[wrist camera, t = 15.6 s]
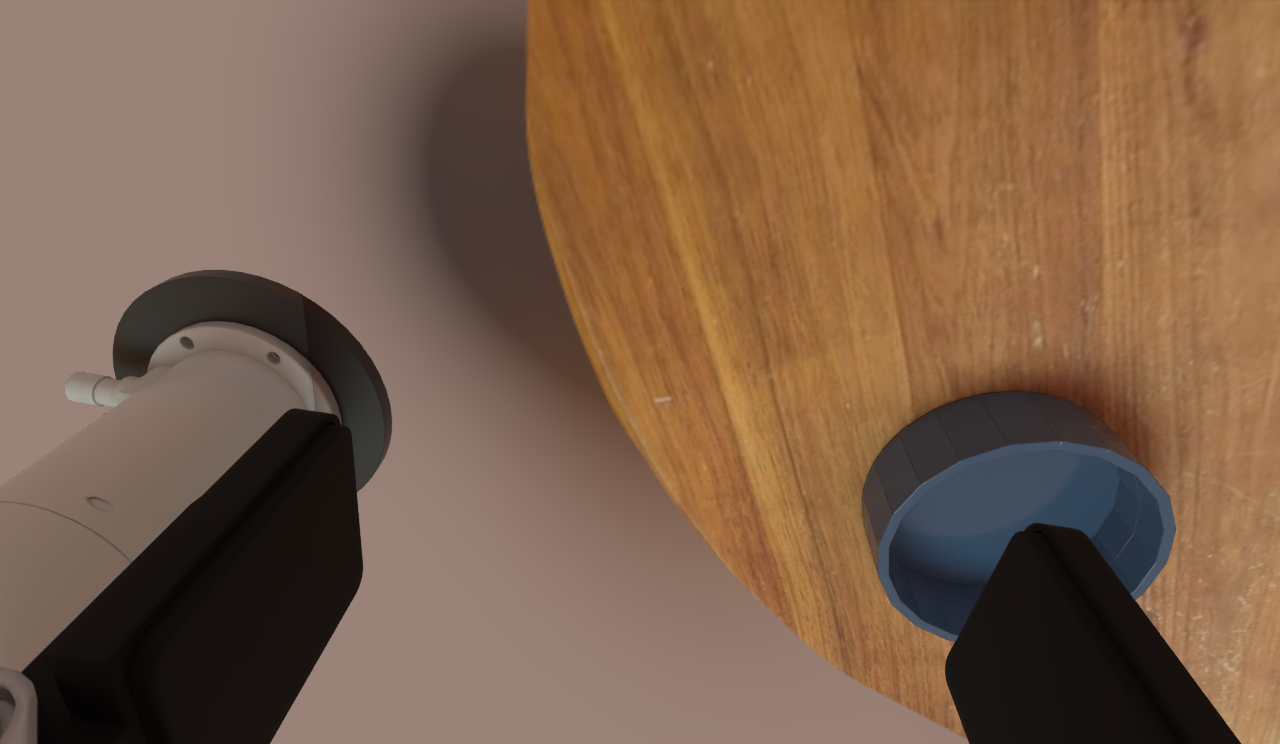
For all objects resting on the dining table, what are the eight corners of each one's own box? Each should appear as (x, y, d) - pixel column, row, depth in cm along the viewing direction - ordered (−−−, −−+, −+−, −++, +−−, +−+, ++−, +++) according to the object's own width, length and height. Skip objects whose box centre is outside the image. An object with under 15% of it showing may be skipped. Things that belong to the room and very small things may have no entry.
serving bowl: (832, 562, 46) (844, 622, 41) (909, 370, 38) (934, 418, 34) (1054, 601, 45) (1090, 666, 41) (1176, 416, 38) (1236, 471, 34)
